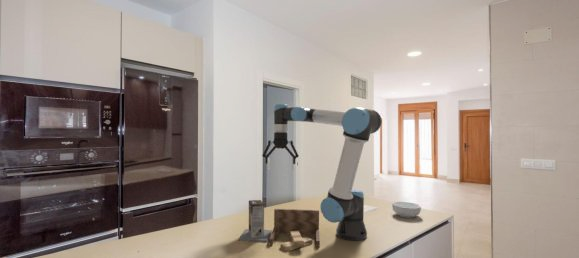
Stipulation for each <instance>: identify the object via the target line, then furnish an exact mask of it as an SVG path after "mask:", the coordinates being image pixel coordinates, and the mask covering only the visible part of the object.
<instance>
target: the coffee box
mask: <svg viewBox="0 0 579 258" xmlns="http://www.w3.org/2000/svg"><path fill="white" fill-rule="evenodd" d="M248 229H249V234H250V236H251V238H258V237H264V230H265V203H264V202H263V201H262V200H261V199H257V200H255V199H252V200H251V199H250V200H248Z"/></svg>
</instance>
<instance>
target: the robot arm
mask: <svg viewBox="0 0 579 258" xmlns="http://www.w3.org/2000/svg"><path fill="white" fill-rule="evenodd" d="M273 110H274V111H273V117H274V118H273V120H274V121H273V122H274V124H273V131H274V133H273V140H272V139H271V140H268V142H267V145H266V147H265V150H264V151H263V153H262V156H261V157H262V158H263V157H264V158H265V164H266V165H267V166H266V167H267V168H266V170H268V171H269V170H270V161H271V159H270V158H271V157H270V155H272V153H273V152H274V151H275V150H276V149H282V150H283V149H285V151H287V152H288V153H289V154H290V156H291V171H294V165H295V164H296V159H297V158H299V154H298V151H297V149H296V147H295V145H294V141H293V140H289V141H288V125H289V124H288V122H305V123H306V122H307V123H313V124H315V123H316V124H324V125H331V126H332V125H333V126H339V127H342V129H343V133H342V136H343V138H344V141H343V146H342V151H341V154H340V158H339V162H338V164H337V165H338V166H337V170H336V174H335V178H334V181H333V185H332V186H331V187H330V188H329V189H328V191H327V196H326V197H325V198H323V199H322V200H321V202H320V213H321V214H322V216H323V217H324V219H326V220H327V221H328V222H330V223H333V224H334V223H338V224H337V227H336V233H335V234H336V236H337V237H339V238H341V239H343V240H346V241H362V240H365V239H367V237H368V231H367V228H366V225H365V221H364V215H365V214H364V205H365V197H364V192H363V191H361V190H359V189H353V186H354V182H355V179H356V176H357V175H356V174H357V170H358V168H359V163H360V161H361V160H360V159H361V156H362V153H363V149H364V145H365V144H366V143H367V142H369V139H370V137H371V134H375V133H376V132H377V131H379V129H380V128H381V126H382V125H383V124H382V122H383V120H382V117H381V114H380V113H379V112H378V111H376V110H374V109H372V108H364V107H352V108H349V109H348V110H347V111H342V110H341V111H340V110H330V109H329V110H328V109H316V108H307V107H303V106H291V107H288V104H286V103H285V104H284V103H280V104H279V103H278V104H275V105H274V109H273ZM288 144H289V146H291V148H292V150H293V152H292V151H291V149H290V148H289V147H288V146H287V145H288ZM271 145H273V147H272V148H271V149H270V147H271ZM269 150H270V151H269ZM268 151H269V152H268ZM267 152H268V153H267Z"/></svg>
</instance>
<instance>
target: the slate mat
mask: <svg viewBox="0 0 579 258" xmlns="http://www.w3.org/2000/svg"><path fill="white" fill-rule="evenodd" d="M272 231H273V229H264V237H258V238H251V236H250V234H249V228H248V229H247V228H245V229H244V230H243V232H242V233H241V234H240V236H239V237H238V239H237V240H238V242H258V243H259V242H260V243H269V238H270V236H271V233H272Z"/></svg>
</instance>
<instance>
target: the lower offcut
mask: <svg viewBox="0 0 579 258" xmlns="http://www.w3.org/2000/svg"><path fill="white" fill-rule="evenodd" d="M302 239H303V241H304V247H307V246H310V245H312V244H313V238H309V237H308V236H304V237H302ZM279 245H280V249H281V250H283V251H285V252H289V251H293V250H296V249H298V248H301V247H294V244H293V242H292V240H290V241H286V242H282V243H280V244H279Z"/></svg>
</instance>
